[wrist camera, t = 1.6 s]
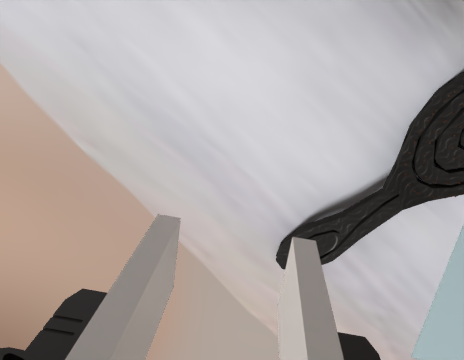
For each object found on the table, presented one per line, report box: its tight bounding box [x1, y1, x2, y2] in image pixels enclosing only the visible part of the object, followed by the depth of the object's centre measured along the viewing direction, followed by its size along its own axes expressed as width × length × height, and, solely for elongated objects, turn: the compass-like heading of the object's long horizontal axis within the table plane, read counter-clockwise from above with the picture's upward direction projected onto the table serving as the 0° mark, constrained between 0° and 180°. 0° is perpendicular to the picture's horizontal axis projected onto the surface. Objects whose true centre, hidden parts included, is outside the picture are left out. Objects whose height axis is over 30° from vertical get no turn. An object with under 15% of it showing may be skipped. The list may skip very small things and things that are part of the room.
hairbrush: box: [276, 72, 464, 269], centre depth 26 cm, size 8×4×25 cm
